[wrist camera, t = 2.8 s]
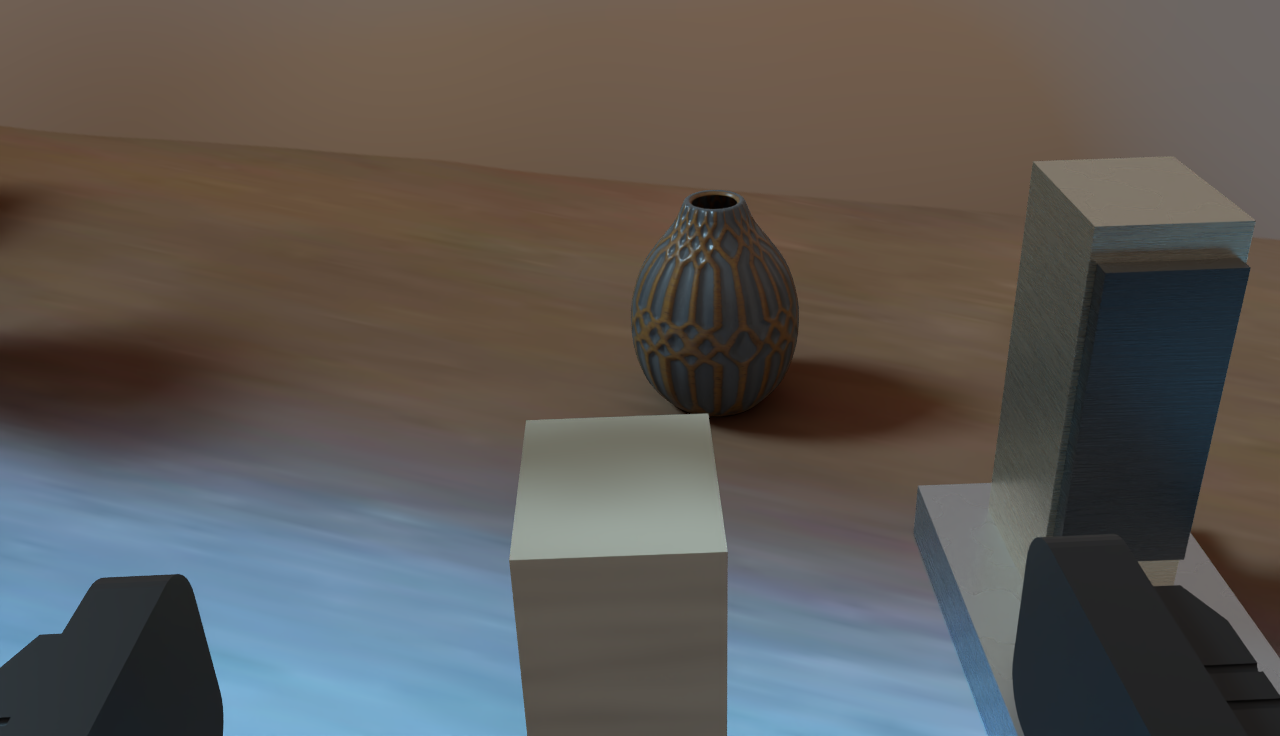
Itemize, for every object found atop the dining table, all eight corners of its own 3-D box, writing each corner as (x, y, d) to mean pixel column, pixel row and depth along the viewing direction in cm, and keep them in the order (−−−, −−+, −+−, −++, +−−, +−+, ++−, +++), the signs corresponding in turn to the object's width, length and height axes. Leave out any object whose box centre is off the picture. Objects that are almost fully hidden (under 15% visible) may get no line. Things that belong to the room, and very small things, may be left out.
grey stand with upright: (1587, 1204, 23) (1942, 635, 16) (1168, 1221, 23) (1352, 658, 16) (1141, 524, 42) (1219, 137, 36) (913, 533, 42) (950, 147, 36)
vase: (825, 381, 52) (834, 189, 48) (741, 453, 47) (744, 246, 43) (691, 342, 56) (689, 160, 52) (601, 406, 51) (590, 210, 47)
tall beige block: (725, 972, 28) (727, 551, 22) (552, 979, 28) (508, 560, 22) (708, 783, 33) (706, 400, 27) (561, 789, 33) (527, 406, 27)
